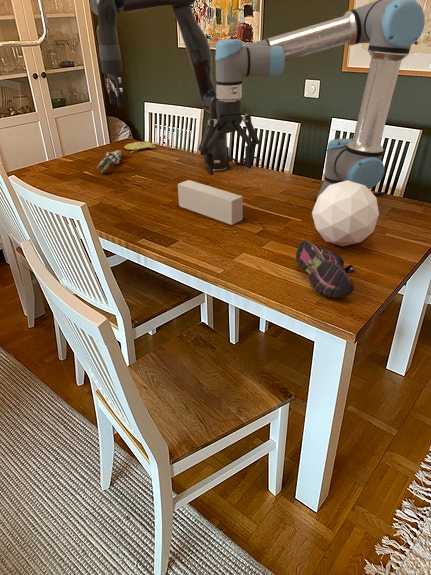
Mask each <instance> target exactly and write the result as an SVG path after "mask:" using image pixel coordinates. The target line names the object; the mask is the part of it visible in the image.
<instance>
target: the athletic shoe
mask: <svg viewBox="0 0 431 575" xmlns="http://www.w3.org/2000/svg"><path fill="white" fill-rule="evenodd" d="M295 261H296V263H297V265H298V267H299V268H301V269H302V271H305V272H307V273H308V276H309V277H308V279H309V282H310V284H311V286H312V287H313V288H315V289H314V290H315V291H316V292H318V294H320V295H322V296H325V297H327V298H333V299H339V298H343V297H348V296H350V295H351V294H353V292H354V290H355V286H354V283H353V281H352V279H351V277H350V276H349V274H353V273H357V271H356V270H355V267H354V266H353V265H352V264H349V265H347V266H345V261H344V259H343V258H342V256H340V255H339V254H337V253H335V252H334V251H331V250H329V249H326V248H323V247H320V246H318V245H315V244H313V243H312V242H310V241H308V240H301V242H299V245H298V247H297V251H296V252H295Z"/></svg>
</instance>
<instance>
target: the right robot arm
mask: <svg viewBox="0 0 431 575" xmlns="http://www.w3.org/2000/svg"><path fill="white" fill-rule="evenodd" d="M425 21H426V17H425V11H424V9H423V7H422V6H421V4H420V3H419V2H418V1H416V0H374V1H371V2H369V3H366V4H364V5H362V6H359V7H356V8H353V9H349V10H347V11H346V12H345V13H344V15H342V16H339V17H336V18H333V19H330V20H326V21H323V22H319V23H316V24H312V25H309V26H305V27H303V28H299V29H296V30H293V31H289V32H285V33H281V34H278V35H275V36H271V37H268V38H266V39H262V40H259V41H256V42H254V41H250V42H246V43H245V44H243V40H242V39H239V38H232V39H231V38H228V39H219V40H218V41H216V43H215V58H214V60H215V88H216V98H217V99H218V100H217V102H216V104H217V118H216V119H210V118H211V117H210V118H207V120H206V124H207V127H206V126H205V130H204V132H203V135H202V137H201V140H200V142H199V145H198V148H197V151H198V152H200V153H201V154H203V155H204V158H203V159H204V164H206V168H207V174H208V175H209V176H214V171H213V154H212V153H211V151H212V150H213V148H214V146H215V145H216V143H217V142H218V140H219V139H220V137H221V136H222V135H223V134H224V133H227V134H230V133H236V132H237V133H238V134H239V136H240V137H241V138H242V140H243V141H244V142H245V143H246V146H244V147H245V148H244V158H245V160H244V161H245V165H244V167H245V168H248V169H252V158H251V157H253V156H255V155H254V153H255V152H254V151H255V150H254V149H255V148H256V147H257V145H259V144H260V143H261V142H260V139H259V137H258V134H257V132H256V130H255V128H254V125H253V123H252V115H250V114H248V113H244V114H242V112H243V101H242V98H243V77H245V78H247V77H269V76H270V77H272V76H279V75H282V73H283V71H284V69H285V62H288V61H291V60H294V59H298V58H301V57H305V56H307V55H312V54H315V53H319V52H322V51H325V50H329V49H332V48H336V47H339V46H343V45H346V44H347V45H348V46H351V47H352V46H354V45H355V46H356V45H360V44H368V48H367V52H368V54H369V56H370V58H371V59H370V63H369V67H368V72H367V77H366V81H365V85H364V89H363V94H362V99H361V103H360V108H359V112H358V116H357V120H356V125H355V130H354V134H353V138H346V137H345V138H335V139H331V140H330V141H328V144H327V148H326V158H325V168H324V178H323V182H322V183H320V184H318V189H319V191H318V193H317V195H316V196H317V198H318V196H319V195H320V194H321V193H322V192H323V191H324V190H325V189H326V188H327V187H328V186H329V185H332V184H335V183H339V182H343V181H347V180H349V181H352V182H355V183H358V184H362V185H365V186H366V187H367V188H368V189H369V190H371V189H373V188H374V187H376V186H377V185H378V184H379V183H380V182H381V181H382V179H383V177H384V175H385V165H384V163H383V160H382V157H383V153H384V148H383V146H382V144H381V142H382V138H383V133H384V129H385V126H386V122H387V118H388V114H389V111H390V107H391V104H392V98H393V95H394V91H395V88H396V84H397V80H398V76H399V72H400V68H401V64H402V62H403V60H405V58H407V57H408V56H409V55H410V52H411V48H412V45H414V44H415V43H416V41H418V40H419V38H420V37H421V35H422V34H423V32H424V28H425ZM242 122H243V123H244V125H245V128H246V131H247V132H248V134H249V135H248V134H247V133H246V132H245V130H244V128H243V127H242V126H241V124H242ZM216 124H217V125H218V127H217V129H216V130H215V133H214V135H213V136H212V138H211V139H210V137H211V134H212V132H213V129H214V127H215V125H216ZM220 130H221V131H220ZM249 136H250V137H249ZM209 139H210V141H209ZM372 193H373V195H374V196H380V195H385V191H380V192H372ZM317 198H316V199H317Z"/></svg>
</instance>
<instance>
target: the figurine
mask: <svg viewBox="0 0 431 575" xmlns="http://www.w3.org/2000/svg"><path fill="white" fill-rule="evenodd" d="M122 153H123V152H122V150H115V151H111V152H110V151H107V152H106V153H105V155H106V156H104V157H103V158H102V159H101V161H100V162H99V163H98V165H97V167H96V169H97V170H100V173H101V174H104V173H105V172H106V171H107V170H108V169H109V168H110V167H111V166H112V165H119V164H120V160H121V158H122V157H123V154H122Z"/></svg>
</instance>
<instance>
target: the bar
mask: <svg viewBox="0 0 431 575" xmlns="http://www.w3.org/2000/svg"><path fill="white" fill-rule="evenodd" d="M177 195H178V207H180V208H183V209H186V210H188V211H192V212H195V213H197V214H199V215H203V216H205V217H208V218H211V219H214V220H217V221H219V222H222V223H225V224H228V225H231V226H233V225H234V224H238V223H239V222H241V221H242V220H244V219H243V218H244V217H243V216H244V215H243V212H244V211H243V209H244V208H243V207H244V206H243V205H244V204H243V203H244V197H243V195H240V194H237V193H234V192H230V191H227V190H223V189H220V188H216V187H213V186H211V185H207V184H204V183H200V182H197V181H195V180H194V181H193V180H190V179H187V180H185V181H182V182H179V183H177Z"/></svg>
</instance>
